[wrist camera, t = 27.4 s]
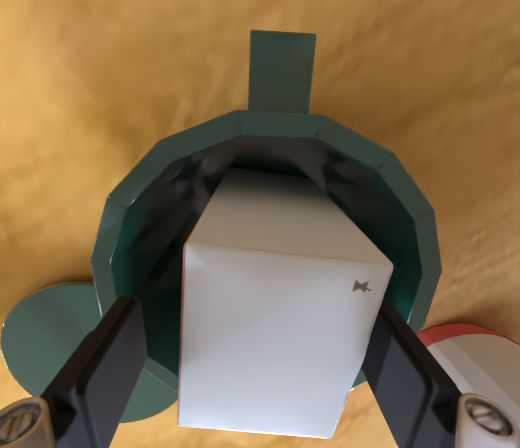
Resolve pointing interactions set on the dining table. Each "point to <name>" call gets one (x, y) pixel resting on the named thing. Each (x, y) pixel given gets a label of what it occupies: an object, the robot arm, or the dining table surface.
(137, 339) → the robot arm
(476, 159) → the dining table surface
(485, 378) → the citrus juicer
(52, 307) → the lid
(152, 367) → the pot
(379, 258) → the small box
